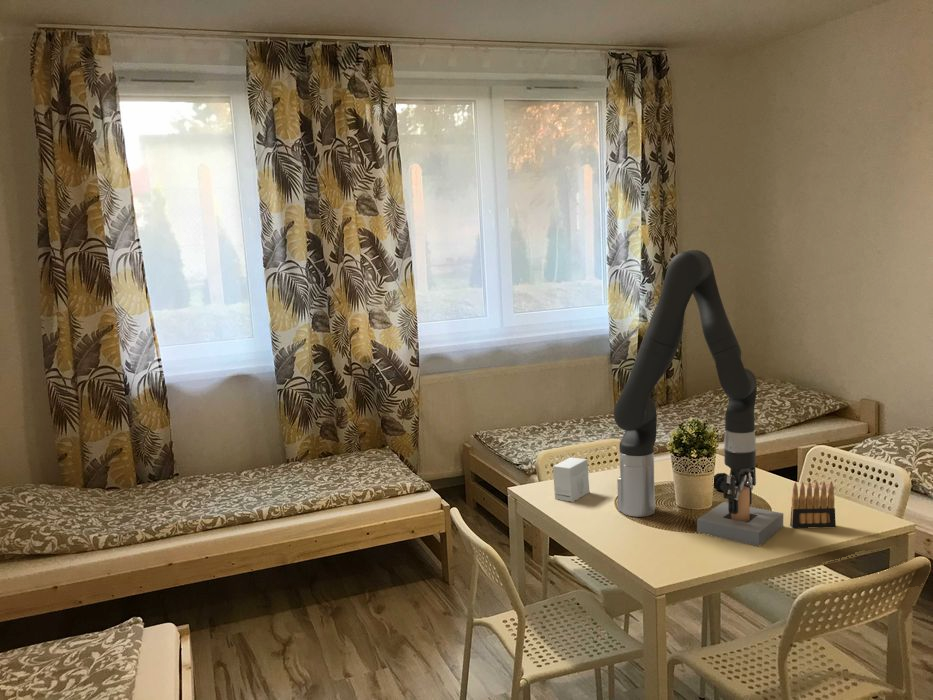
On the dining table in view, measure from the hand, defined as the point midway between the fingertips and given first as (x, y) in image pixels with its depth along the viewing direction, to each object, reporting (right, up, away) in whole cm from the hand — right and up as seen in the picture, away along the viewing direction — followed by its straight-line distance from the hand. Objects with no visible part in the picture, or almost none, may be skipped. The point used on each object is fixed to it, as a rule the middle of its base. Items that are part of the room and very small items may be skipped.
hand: (740, 508), depth 197 cm
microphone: (+6, -2, +25) cm, 26 cm away
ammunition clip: (+19, -5, 0) cm, 19 cm away
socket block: (0, -6, +1) cm, 6 cm away
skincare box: (-39, -3, +34) cm, 51 cm away
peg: (0, -6, +1) cm, 6 cm away
